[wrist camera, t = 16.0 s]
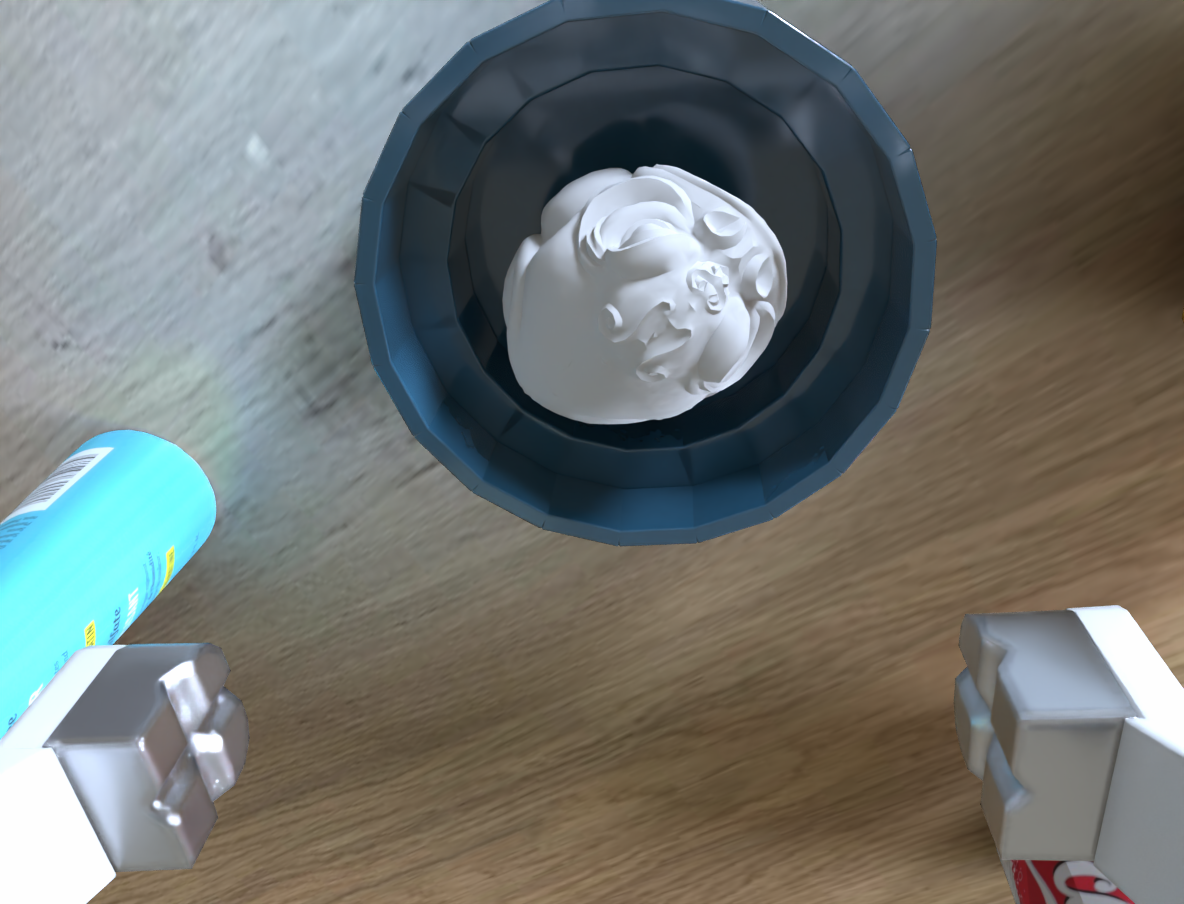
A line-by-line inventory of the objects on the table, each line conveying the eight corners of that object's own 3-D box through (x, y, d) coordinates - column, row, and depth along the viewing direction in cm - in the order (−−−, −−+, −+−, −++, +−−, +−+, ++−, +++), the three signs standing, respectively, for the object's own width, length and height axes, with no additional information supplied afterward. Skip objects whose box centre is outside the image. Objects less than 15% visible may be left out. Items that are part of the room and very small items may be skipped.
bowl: (365, 10, 24) (294, 24, 19) (902, -50, 22) (957, -49, 18) (453, 465, 30) (414, 555, 25) (879, 443, 28) (917, 535, 24)
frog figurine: (817, 262, 25) (863, 364, 19) (613, 407, 27) (595, 540, 21) (678, 72, 23) (679, 117, 17) (472, 247, 26) (407, 341, 19)
